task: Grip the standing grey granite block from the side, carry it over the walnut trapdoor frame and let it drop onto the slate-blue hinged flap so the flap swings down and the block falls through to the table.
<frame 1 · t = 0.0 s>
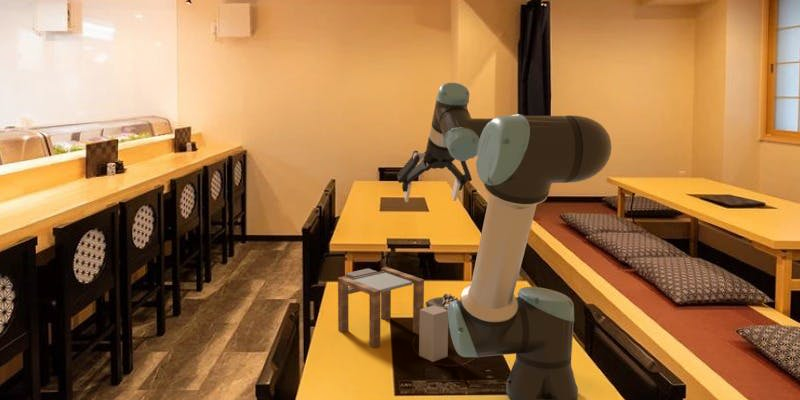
hand: (429, 198, 174), 36 cm above the table, tool tilted 35°, fingers open, 13 cm apart
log: (443, 308, 193), on the table
flap: (375, 280, 172), point 14 cm above the table, hinge at 0.0°
trapdoor frame: (380, 331, 172), on the table
granite block: (433, 356, 156), on the table
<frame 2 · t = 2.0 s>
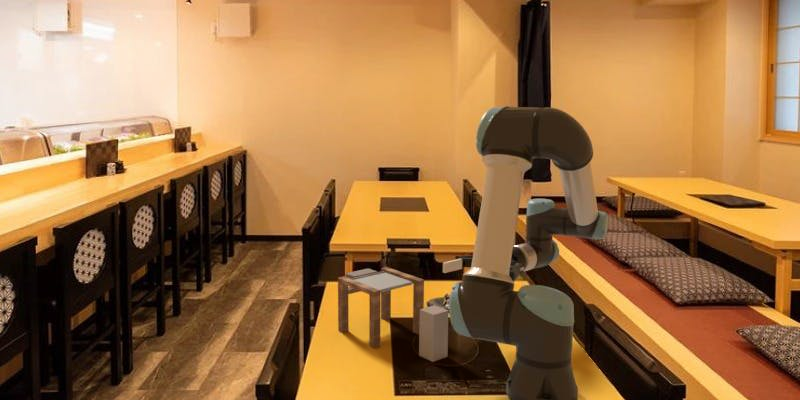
hand: (462, 273, 160), 19 cm above the table, tool horizontal, fingers open, 13 cm apart
nothing on the table moved.
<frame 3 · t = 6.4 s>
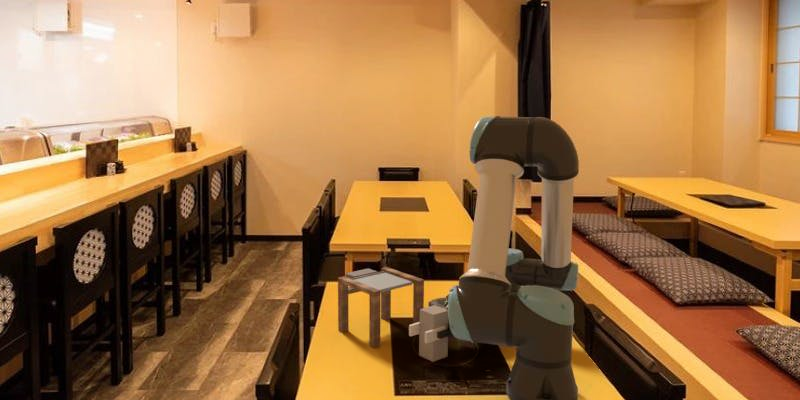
hand: (417, 334, 152), 7 cm above the table, tool horizontal, fingers closed on granite block, 5 cm apart
granite block: (433, 355, 156), on the table, touching gripper
everything else where it was.
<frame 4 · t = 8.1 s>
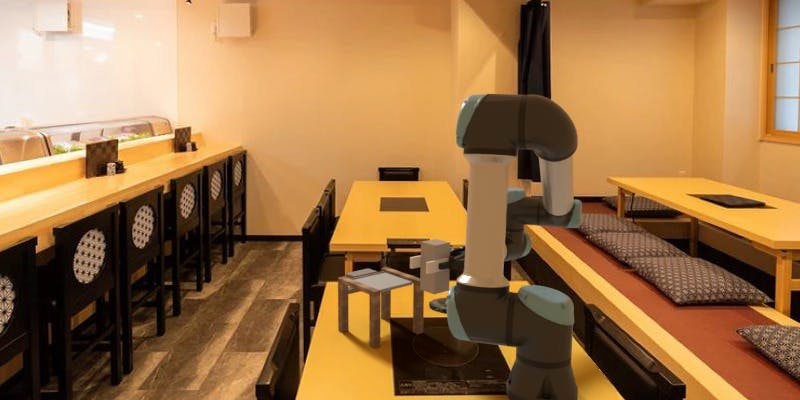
hand: (419, 265, 149), 24 cm above the table, tool horizontal, fingers closed on granite block, 5 cm apart
granite block: (434, 290, 154), point 17 cm above the table, touching gripper
when the fingers open (24 cm above the table, at t = 9.8 s): granite block drops 5 cm, resting on flap.
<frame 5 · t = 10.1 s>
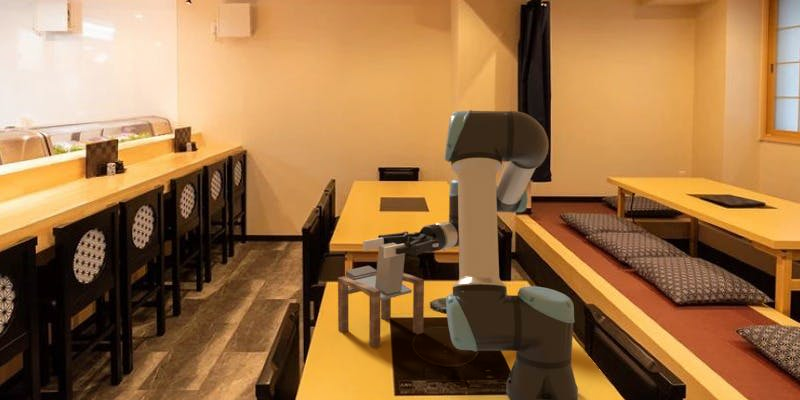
hand: (373, 249, 163), 24 cm above the table, tool horizontal, fingers open, 8 cm apart
flap: (375, 282, 172), point 13 cm above the table, hinge at -11.2°, touching granite block
granite block: (388, 289, 168), point 13 cm above the table, tilted 8°, touching flap
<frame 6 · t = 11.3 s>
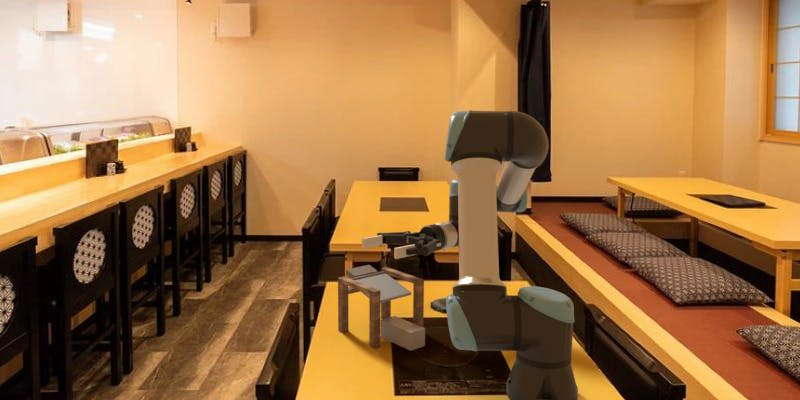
hand: (378, 248, 164), 24 cm above the table, tool horizontal, fingers open, 13 cm apart
flap: (375, 283, 172), point 13 cm above the table, hinge at -14.5°
granite block: (387, 326, 170), point 2 cm above the table, tilted 90°
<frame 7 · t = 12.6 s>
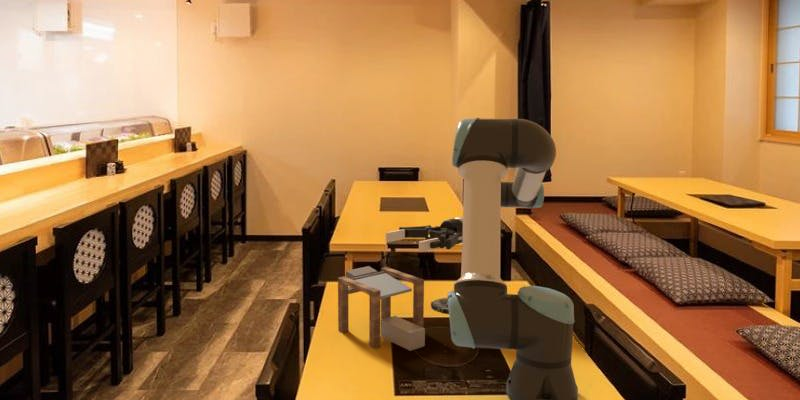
hand: (402, 242, 169), 25 cm above the table, tool horizontal, fingers open, 13 cm apart
flap: (375, 282, 172), point 13 cm above the table, hinge at -9.1°
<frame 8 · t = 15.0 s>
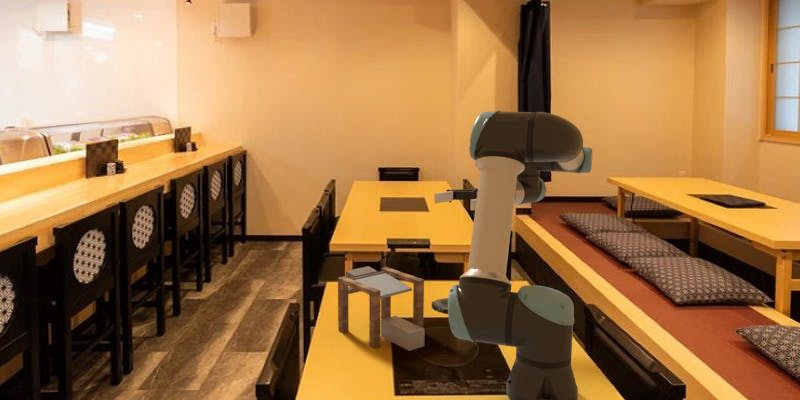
hand: (452, 201, 168), 36 cm above the table, tool horizontal, fingers open, 13 cm apart
flap: (375, 282, 172), point 13 cm above the table, hinge at -8.4°
at the end: granite block point 2.2 cm above the table; the gripper is holding nothing; granite block moved 18.2 cm from its start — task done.
